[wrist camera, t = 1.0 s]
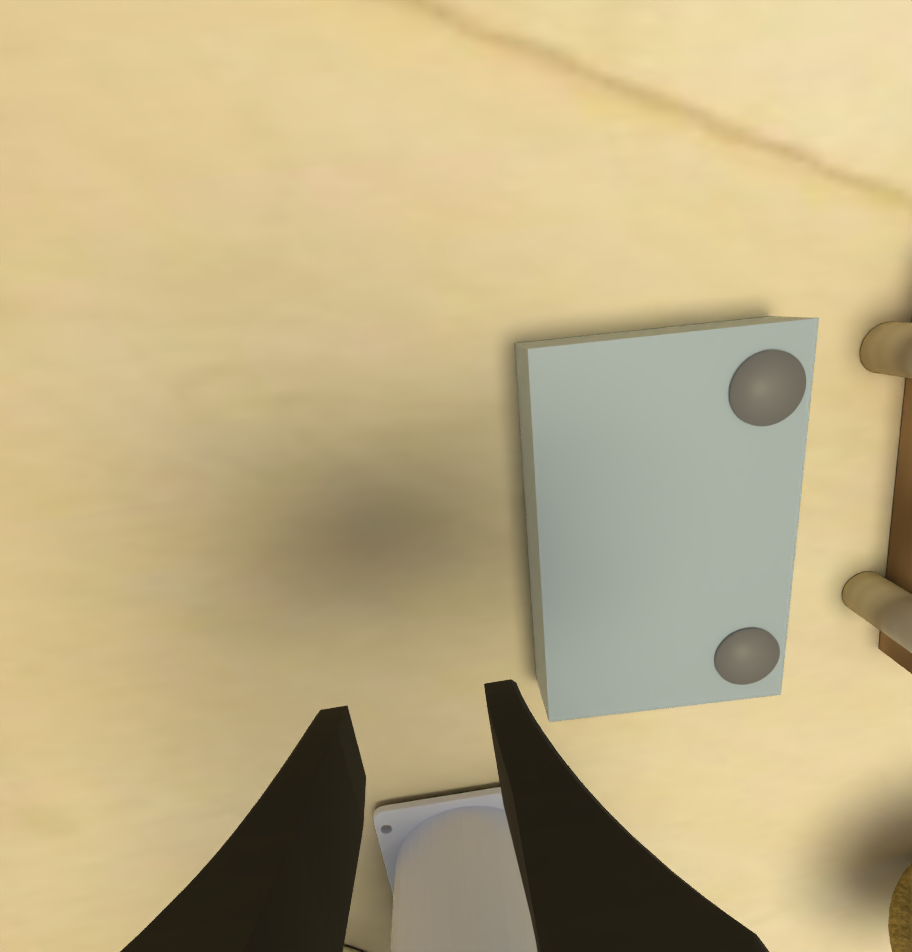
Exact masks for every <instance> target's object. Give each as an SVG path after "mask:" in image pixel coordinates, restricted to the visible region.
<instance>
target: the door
mask: <svg viewBox="0 0 912 952" xmlns="http://www.w3.org/2000/svg"><path fill="white" fill-rule="evenodd" d="M818 321H819V318H802V317H774V316H767V317H758V318H748V319H739V320H730V321H720V322H711V323H701V324H692V325H682V326H673V327H663V328H654V329H644V330H635V331H626V332H616V333H607V334H597V335H588V336H578V337H569V338H559V339H550V340H541V341H531V342H522V343H515V355H516V370H517V386H518V401H519V417H520V432H521V447H522V463H523V478H524V494H525V509H526V525H527V540H528V555H529V571H530V586H531V602H532V617H533V633H534V648H535V663H536V679H537V682H538V685H539V689H540V692H541V696H542V699H543V703H544V706H545V710H546V713H547V716H548V720H549V722H554V721H563V720H571V719H580V718H588V717H597V716H605V715H614V714H622V713H630V712H639V711H647V710H656V709H664V708H673V707H681V706H690V705H698V704H707V703H715V702H724V701H732V700H741V699H749V698H758V697H766V696H775V695H781V688H782V678H783V668H784V658H785V648H786V638H787V628H788V618H789V609H790V599H791V589H792V579H793V569H794V559H795V549H796V539H797V529H798V519H799V510H800V500H801V490H802V480H803V470H804V460H805V450H806V440H807V430H808V420H809V410H810V401H811V391H812V381H813V371H814V361H815V351H816V341H817V331H818Z"/></svg>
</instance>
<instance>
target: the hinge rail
mask: <svg viewBox="0 0 912 952" xmlns="http://www.w3.org/2000/svg"><path fill="white" fill-rule="evenodd" d="M860 357H861V361H862V363H863V365H864V367H865V368H866V369H868V370H869V371H871V372H874V373H880V374H887V375H893V376H900V377H906V385H905V395H904V405H903V415H902V425H901V435H900V445H899V454H898V464H897V474H896V484H895V494H894V504H893V514H892V524H891V533H890V543H889V553H888V563H887V573H886V578H884V577H882V576H881V575H879V574H877V573H875V572H863V573H860V574H858V575H856V576H854V577H853V578H851V579H850V580H849V581H848V582H847V584H846V585H845V587H844V589H843V593H842V598H843V602H844V604H845V605H846V606H847V607H848V608H850V609H851V610H853V611H854V612H855V613H857V614H858V615H859V616H861V617H862V618H864V619H865V620H866V621H868V622H869V623H871V624H872V625H873V626H875V627H876V628H877V629H879V630H880V631H881V632H880V642H879V649H880V650H881V651H883V652H884V653H885V654H887V655H888V656H889V657H890V658H892V659H893V660H894V661H896V662H897V663H898V664H900V665H901V666H902V667H904V668H905V669H906V670H907V671H909V672H910V673H911V674H912V323H907V322H886V323H882V324H880V325H878V326H876V327H875V328H873V329H872V330H871V331H870V332H869V333H868V334H867V336H866V337H865V339H864V341H863V343H862V346H861V351H860Z"/></svg>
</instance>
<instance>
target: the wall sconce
mask: <svg viewBox="0 0 912 952" xmlns="http://www.w3.org/2000/svg"><path fill="white" fill-rule="evenodd" d="M888 927H889V936H890V944H891V948H892V952H912V864H911V865H910V866H909V867H908V868H907V869H906V871H905V872H904V874H903V875H902V877H901V878H900V880H899V881H898V883H897V886H896V888H895V890H894V893H893V895H892V900H891V904H890V908H889V924H888Z"/></svg>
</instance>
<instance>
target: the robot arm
mask: <svg viewBox="0 0 912 952" xmlns="http://www.w3.org/2000/svg"><path fill="white" fill-rule="evenodd" d="M484 687H485V694H486V701H487V708H488V714H489V720H490V726H491V732H492V738H493V745H494V751H495V757H496V763H497V769H498V775H499V781H500V787H497V788H490V789H484V790H478V791H472V792H465V793H459V794H453V795H447V796H440V797H434V798H428V799H422V800H415V801H409V802H403V803H397V804H390V805H384V806H381V807H378V808H377V809H376V810H375V812H374V818H373V822H374V826H375V830H376V834H377V837H378V841H379V845H380V849H381V853H382V856H383V860H384V864H385V868H386V872H387V875H388V879H389V883H390V887H391V890H392V894H393V911H392V928H391V944H390V952H769V951H768V949H767V948H766V947H765V945H764V944H763V943H762V941H761V940H760V939H759V937H758V936H757V935H756V934H755V933H753V932H752V931H751V930H749V929H748V928H746V927H745V926H743V925H742V924H741V923H739V922H738V921H736V920H735V919H733V918H732V917H731V916H729V915H728V914H726V913H725V912H724V911H722V910H721V909H720V908H718V907H717V906H716V905H714V904H713V903H712V902H710V901H709V900H708V899H706V898H705V897H704V896H702V895H701V894H700V893H699V892H697V891H696V890H695V889H694V888H692V887H691V886H690V885H689V884H687V883H686V882H685V881H684V880H682V879H681V878H680V877H679V876H677V875H676V874H675V873H674V872H672V871H671V870H670V869H669V868H668V867H667V866H666V865H665V864H663V863H662V862H661V861H660V860H659V859H658V858H657V857H656V856H654V855H653V854H652V853H651V852H650V851H649V850H648V849H647V848H645V847H644V846H643V845H642V844H641V843H640V842H639V841H638V840H636V839H635V838H634V837H633V836H632V835H631V834H630V833H629V832H628V831H627V830H626V829H625V828H624V827H623V826H622V825H621V824H620V823H619V822H618V821H617V820H616V819H615V818H614V817H613V816H612V815H611V814H610V813H609V812H608V811H607V810H606V809H605V808H604V807H603V806H602V805H601V804H600V802H599V801H598V800H597V799H596V798H595V797H594V796H593V795H592V794H591V793H590V791H589V790H588V789H587V788H586V787H585V786H584V785H583V783H582V782H581V781H580V780H579V779H578V777H577V776H576V775H575V774H574V772H573V771H572V770H571V769H570V767H569V766H568V765H567V764H566V762H565V761H564V760H563V759H562V757H561V756H560V755H559V753H558V752H557V751H556V749H555V748H554V746H553V745H552V743H551V742H550V741H549V739H548V738H547V736H546V735H545V734H544V732H543V731H542V729H541V728H540V726H539V725H538V723H537V722H536V720H535V718H534V717H533V715H532V713H531V712H530V710H529V708H528V706H527V705H526V703H525V701H524V699H523V697H522V695H521V693H520V691H519V688H518V686H517V683H516V682H514V681H513V680H505V681H498V682H492V683H486V684H484ZM365 786H366V775H365V771H364V767H363V764H362V760H361V756H360V752H359V748H358V744H357V741H356V737H355V733H354V729H353V725H352V721H351V718H350V714H349V710H348V706H342V707H336V708H330V709H323V710H320V711H319V713H318V714H317V715H316V717H315V718H314V720H313V721H312V723H311V724H310V726H309V727H308V729H307V730H306V732H305V734H304V735H303V737H302V738H301V740H300V741H299V743H298V744H297V746H296V747H295V749H294V750H293V752H292V753H291V755H290V756H289V758H288V759H287V761H286V762H285V764H284V765H283V767H282V768H281V769H280V771H279V772H278V774H277V775H276V777H275V778H274V779H273V781H272V782H271V784H270V785H269V787H268V788H267V789H266V791H265V792H264V794H263V795H262V796H261V798H260V799H259V800H258V802H257V803H256V804H255V806H254V807H253V808H252V809H251V811H250V812H249V813H248V815H247V816H246V817H245V819H244V820H243V821H242V823H241V824H240V825H239V826H238V828H237V829H236V830H235V832H234V833H233V834H232V835H231V837H230V838H229V839H228V840H227V841H226V843H225V844H224V845H223V846H222V847H221V849H220V850H219V851H218V852H217V853H216V855H215V856H214V857H213V858H212V859H211V860H210V861H209V863H208V864H207V865H206V866H205V867H204V868H203V869H202V870H201V872H200V873H199V874H198V875H197V876H196V877H195V878H194V879H193V880H192V881H191V882H190V884H189V885H188V886H187V887H186V888H185V889H184V890H183V891H182V892H181V893H180V894H179V895H178V896H177V897H176V898H175V899H174V900H173V901H172V902H171V903H170V904H169V905H168V906H167V907H166V908H165V909H164V910H163V911H162V912H161V913H160V914H159V915H158V916H157V917H156V918H155V919H154V920H153V921H152V922H151V923H150V924H149V925H148V926H147V927H146V928H145V929H144V930H143V931H142V932H141V933H140V934H139V935H138V936H137V937H136V938H135V939H133V940H132V941H131V942H130V943H129V944H128V945H127V946H126V947H125V948H124V949H123V950H122V951H120V952H343V946H344V940H345V934H346V928H347V922H348V916H349V910H350V904H351V898H352V892H353V886H354V880H355V874H356V868H357V862H358V856H359V850H360V844H361V837H362V831H363V822H364V807H365ZM385 825H389V826H385Z"/></svg>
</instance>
